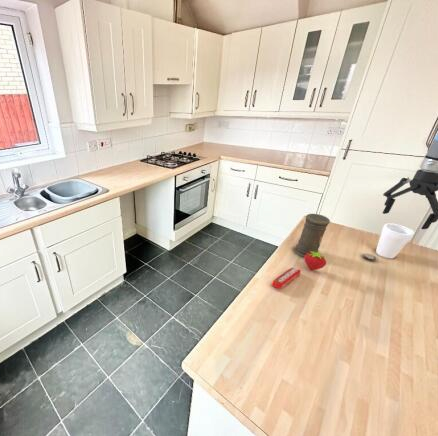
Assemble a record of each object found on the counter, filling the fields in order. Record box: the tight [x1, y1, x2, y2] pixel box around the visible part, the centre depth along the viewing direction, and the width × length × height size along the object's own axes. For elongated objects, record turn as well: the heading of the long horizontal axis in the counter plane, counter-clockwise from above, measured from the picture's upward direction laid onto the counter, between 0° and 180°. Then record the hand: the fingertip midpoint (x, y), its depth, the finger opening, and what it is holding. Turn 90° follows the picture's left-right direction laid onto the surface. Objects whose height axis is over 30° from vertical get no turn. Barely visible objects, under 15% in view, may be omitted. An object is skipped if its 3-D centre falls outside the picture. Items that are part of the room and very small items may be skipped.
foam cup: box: [375, 222, 416, 259], centre depth 104 cm, size 10×9×13 cm
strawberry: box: [303, 251, 327, 272], centre depth 97 cm, size 6×8×10 cm
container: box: [294, 213, 331, 258], centre depth 105 cm, size 9×9×18 cm
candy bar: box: [270, 267, 302, 289], centre depth 94 cm, size 16×4×3 cm, turn 124°
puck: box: [362, 253, 377, 262], centre depth 105 cm, size 4×4×1 cm
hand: (403, 220), depth 100 cm, fingers open, 13 cm apart
